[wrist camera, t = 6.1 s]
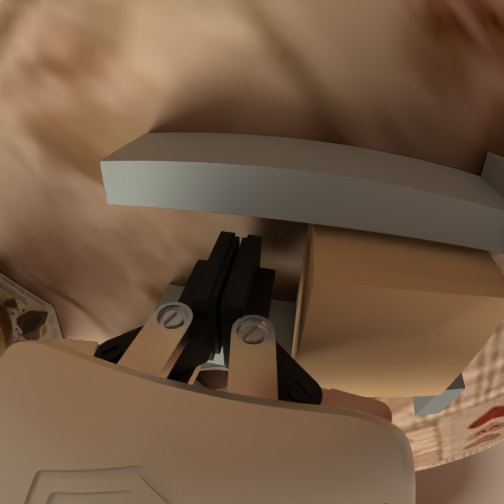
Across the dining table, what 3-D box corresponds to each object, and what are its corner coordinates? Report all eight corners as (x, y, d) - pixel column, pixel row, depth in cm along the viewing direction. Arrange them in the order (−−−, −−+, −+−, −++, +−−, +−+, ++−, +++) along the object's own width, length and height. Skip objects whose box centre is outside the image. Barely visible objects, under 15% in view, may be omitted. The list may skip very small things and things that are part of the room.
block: (312, 189, 12) (313, 280, 7) (460, 213, 11) (516, 298, 7) (296, 297, 15) (287, 392, 11) (419, 308, 14) (440, 394, 10)
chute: (145, 105, 11) (64, 141, 7) (511, 160, 9) (578, 217, 5) (175, 316, 18) (146, 383, 14) (425, 345, 16) (438, 413, 12)
